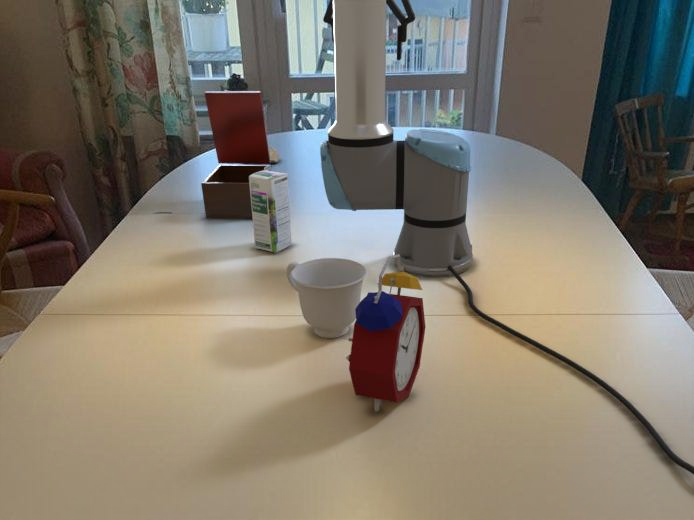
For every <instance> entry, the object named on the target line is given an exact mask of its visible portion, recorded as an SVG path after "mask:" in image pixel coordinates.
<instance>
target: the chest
mask: <svg viewBox="0 0 694 520" xmlns="http://www.w3.org/2000/svg"><path fill="white" fill-rule="evenodd" d="M264 170H268V171H272V166H271V164H218V165H217V166H216V167H215V168H214V169H213V171H211V172H210V173H209V175H207V176H206V177H205V178H204V180H203V181H201V183H200V185H201V192H202V201H203V207H204V213H205V219H208V220H209V219H210V220H211V219H212V220H215V219H216V220H219V219H220V220H253V217H252V206H251V196H250V185H249V176H250V175H252V174H254V173H256V172H259V171H264Z"/></svg>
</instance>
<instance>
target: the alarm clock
mask: <svg viewBox="0 0 694 520" xmlns="http://www.w3.org/2000/svg"><path fill="white" fill-rule="evenodd" d="M395 258H397V268H396V269H397V271H394V272H387V273H385V272H386V270H387V268H388V266H389V265H390V262H391V260H393V259H395ZM403 270H404V266H401V268H400V254H398V255H394V254H393V255H389V256H388V258H387V260H386V261H385V263H384V265H383V267H382V269H381V271H380V273H379V274H378V283H377V285H378V291H375V292H373V291H372V292H370V291H367V294H366V296H365V297H364V298H363V299H362V300H360V303H359V304H358V306H357V307H356V309H355V313H356V319H355V320H354V324H353V330H352V337H348V338H347V340H348V342H351V347H350V354H349V355H347V356H346V357H345V359H346V360H347V361H348V362H349V363H348V364H349V365H348V371H349V375H350V379H351V382H352V387H353V391H354V395H355V396H358V397H364V398H370V399H374V412H377V413H378V412H379V411H380V409H381V406H382V404H383V401H386V402H392V403H399V402H401V401H404V400H405V399H408V398H409V396H410V394H411V391H412V389H413V386H414V384H415V380H416V377H417V375H418V372H419V370H420V367H421V361H422V352H423V347H424V341H425V333H426V317H425V309H424V300H423V297H416V296H409V295H403V294H401V291H402V289H408V290H417V291H423V288H422V286H421V283H420V281H419V279H418V276H416V275H412V274H408V273H406V272H403ZM383 286H385V287H390V288H389V293H388V292H386V291H383ZM393 288H397V291H396V293H395V294H394V293H392V290H393ZM342 339H343V340H346V338H344V337H342Z"/></svg>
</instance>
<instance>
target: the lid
mask: <svg viewBox="0 0 694 520" xmlns="http://www.w3.org/2000/svg"><path fill="white" fill-rule="evenodd" d="M204 97H205V103H206V107H207V108H206V109H207V113H208V118H209V124H210V128H211V134H212V138H213V143H214V149H215V152H216V153H215V154H216V159H217V163H218V164H238V165H271V163H272V162H271V161H270V154H269V147H270V146H269V139H268V131H267V127H266V120H265V111H264V104H263V97H262V91H261V90H215V91H214V90H208V91H207V90H205V91H204Z"/></svg>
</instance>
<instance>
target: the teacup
mask: <svg viewBox="0 0 694 520" xmlns="http://www.w3.org/2000/svg"><path fill="white" fill-rule="evenodd" d="M285 275H286V279H287V281H288V284H289V285H290V287H291V288H292V289H293V290H294V291H295V292H296V293H297V294H298V300H299V305H300V306H299V307H300V309H301V313H302V316H303V319H304V320H305V321H306V323H307V324H308V325H310V326H311V327H312V328H313V333H314V334H315V335H316V336H318V337H320V338H326V339H334V338H341V337H343V336H345V335H346V334H347V333H348V332H349V326H350V325H352V324H353V323H355V321H356V313H355V309H356V307H357V306H358V304H359V303H360V302H361V295H362V287H363V282H364V280H365V278H366V277H367V276H368V269H367V268H366V267H365V266H364V265H363V264H361V263H360V262H357V261H355V260H352V259H346V258H339V257H325V258H323V257H322V258H316V259H311V260H308V261H305V262H302V263H299V262H298V261H292V262H290V263H288V265H287V267H286V270H285Z"/></svg>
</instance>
